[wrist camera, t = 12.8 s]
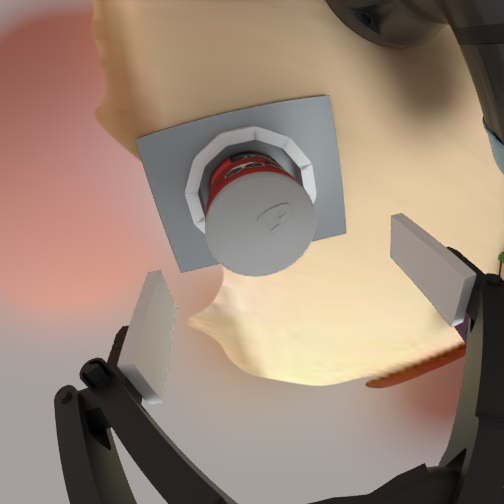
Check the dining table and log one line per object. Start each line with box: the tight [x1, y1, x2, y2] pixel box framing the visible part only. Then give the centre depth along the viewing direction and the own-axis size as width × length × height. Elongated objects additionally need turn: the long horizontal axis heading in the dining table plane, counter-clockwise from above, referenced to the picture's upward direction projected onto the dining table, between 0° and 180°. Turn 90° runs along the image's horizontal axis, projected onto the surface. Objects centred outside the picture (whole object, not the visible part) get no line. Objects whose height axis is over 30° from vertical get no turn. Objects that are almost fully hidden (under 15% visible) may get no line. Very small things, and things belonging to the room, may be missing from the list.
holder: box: [136, 95, 346, 273], centre depth 29 cm, size 16×20×4 cm
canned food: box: [205, 151, 316, 276], centre depth 25 cm, size 8×8×11 cm
